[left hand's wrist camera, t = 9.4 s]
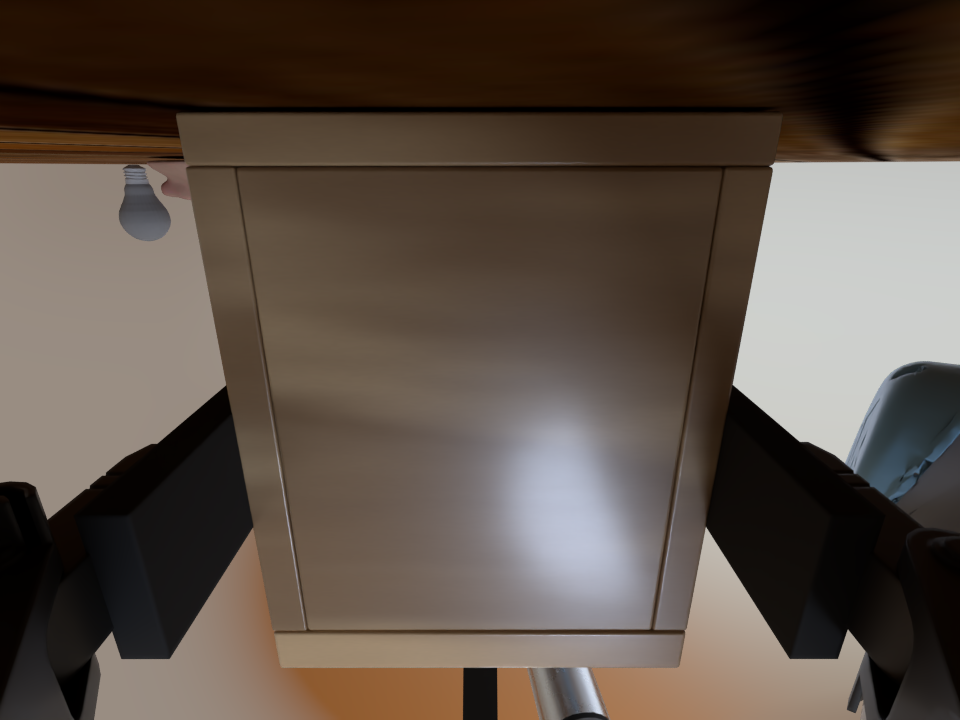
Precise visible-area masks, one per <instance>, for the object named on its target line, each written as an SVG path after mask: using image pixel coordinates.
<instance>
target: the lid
mask: <svg viewBox="0 0 960 720" xmlns="http://www.w3.org/2000/svg"><path fill="white" fill-rule="evenodd" d="M274 636H275V641H276V647H277V652H278V657H279V662H280V666H281V667H283V668H676V667H679V665H680V659H681V654H682V649H683V643H684V638H685V631H684V630H654V629H653V628H652V627H651V629H649V630H310V629H308V628H307V630H305V631H275V632H274Z"/></svg>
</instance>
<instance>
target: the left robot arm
mask: <svg viewBox="0 0 960 720" xmlns="http://www.w3.org/2000/svg"><path fill="white" fill-rule="evenodd" d="M706 527H707V529H708V530H709V532H710V534H711V535H712V537H713V538H714V540H715V542H716V543H717V545H718V546H719V548H720V549H721V551H722V553H723V554H724V556H725V557H726V559H727V561H728V562H729V564H730V565H731V567H732V568H733V570H734V572H735V573H736V575H737V576H738V578H739V579H740V581H741V583H742V584H743V586H744V587H745V589H746V590H747V592H748V594H749V595H750V597H751V598H752V600H753V602H754V603H755V605H756V606H757V608H758V609H759V611H760V612H761V614H762V616H763V617H764V619H765V620H766V622H767V624H768V625H769V627H770V628H771V630H772V632H773V633H774V635H775V636H776V638H777V639H778V641H779V643H780V644H781V646H782V647H783V649H784V650H785V652H786V653H787V655H788V657H789V658H790V659H838V657H839V654H840V651H841V648H842V645H843V642H844V639H845V636H846V633H847V630H849V631H850V632H851V634H852V635H853V636H854V637H855V639H856V640H857V641H858V642H859V644H860V645H861V646H862V647H863V649H864V650H865V651H866V652H865V655H864V658H863V661H862V663H861V666H860V669H859V672H858V674H857V677H856V680H855V683H854V686H853V688H852V691H851V694H850V697H849V701H848V706H847V710H849V711H851V712H854V713H856V711H857V708H858V705H859V702H860V701H862V700H864V701H863V707H862V713H861V719H860V720H960V365H956V364H947V363H939V362H930V361H920V362H914V363H909V364H906V365H903V366H901V367H899V368H897V369H896V370H894V371H893V372H891V373H890V374H889V376H888V377H887V378H886V379H885V380H884V381H883V383H882V384H881V386H880V388H879V389H878V391H877V393H876V395H875V397H874V399H873V401H872V403H871V405H870V407H869V409H868V411H867V413H866V415H865V418H864V420H863V422H862V424H861V427H860V429H859V431H858V433H857V436H856V438H855V441H854V443H853V445H852V448H851V450H850V453H849V455H848V457H847V460H846V462H845V463H844V462H842V461H841V460H840V459H839V458H837V457H836V456H835V455H833V454H831V453H829V452H827V451H825V450H823V449H821V448H819V447H817V446H815V445H813V444H811V443H809V442H799V441H798V440H797V439H796V438H794V437H793V436H792V435H791V434H790V433H789V432H787V431H786V430H785V429H784V428H783V427H782V426H780V425H779V424H778V423H777V422H776V421H774V420H773V419H772V418H771V417H770V416H769V415H767V414H766V413H765V412H764V411H763V410H762V409H760V408H759V407H758V406H757V405H756V404H754V403H753V402H752V401H751V400H750V399H748V398H747V397H746V396H745V395H744V394H743V393H742V392H740V391H739V390H738V389H737V388H736V387H734V386H733V385H732V390H731V395H730V400H729V406H728V411H727V416H726V421H725V427H724V432H723V437H722V443H721V448H720V453H719V459H718V464H717V469H716V474H715V480H714V485H713V490H712V496H711V501H710V506H709V512H708V517H707V522H706ZM252 528H253V521H252V516H251V511H250V505H249V500H248V495H247V490H246V484H245V479H244V474H243V468H242V463H241V458H240V453H239V447H238V442H237V437H236V431H235V426H234V421H233V416H232V412H231V407H230V401H229V396H228V391H227V386H225V387H224V388H223V389H221V390H220V391H219V392H218V393H217V394H215V395H214V396H213V397H212V398H211V399H210V400H208V401H207V402H206V403H205V404H204V405H203V406H201V407H200V408H199V409H198V410H197V411H196V412H194V413H193V414H192V415H191V416H190V417H188V418H187V419H186V420H185V421H184V422H183V423H181V424H180V425H179V426H178V427H177V428H176V429H174V430H173V431H172V432H171V433H170V434H168V435H167V436H166V437H165V438H164V439H163V440H161V441H160V442H159V443H158V444H150V445H148V446H146V447H144V448H142V449H141V450H139V451H137V452H134V453H133V454H131V455H128V456H126V457H125V458H124V459H122V460H121V461H120V462H119V463H117V464H116V465H115V466H114V467H112V468H111V469H110V470H109V471H107V472H106V476H101V477H100V478H99V479H98V480H96V481H95V482H94V483H93V484H91V485H90V489H85V490H84V491H83V492H82V493H80V494H79V495H78V496H77V497H75V498H74V499H73V500H72V501H70V502H69V503H68V504H67V505H66V506H64V507H63V508H62V509H61V510H59V511H58V512H57V513H56V514H54V515H53V516H52V517H51V518H49V519H48V520H47V518H46V515H45V512H44V509H43V506H42V504H41V501H40V498H39V495H38V492H37V490H36V487H34V486H33V485H31V484H29V483H27V482H3V483H0V720H94V716H95V709H96V702H97V696H98V689H99V682H100V675H101V674H100V668H99V663H98V660H97V658H96V655H95V652H96V651H97V649H98V648H99V647H100V646H101V644H102V643H103V642H104V641H105V639H106V638H107V637H108V636H109V634H110V633H111V632H113V635H114V638H115V641H116V644H117V647H118V650H119V653H120V656H121V659H170V657H171V656H172V654H173V653H174V651H175V649H176V648H177V646H178V645H179V643H180V642H181V640H182V638H183V637H184V635H185V634H186V632H187V631H188V629H189V627H190V626H191V624H192V623H193V621H194V620H195V618H196V616H197V615H198V613H199V612H200V610H201V608H202V607H203V605H204V604H205V602H206V600H207V599H208V597H209V596H210V594H211V593H212V591H213V590H214V588H215V586H216V585H217V583H218V582H219V580H220V579H221V577H222V575H223V574H224V572H225V571H226V569H227V567H228V566H229V564H230V563H231V561H232V560H233V558H234V556H235V555H236V553H237V552H238V550H239V548H240V547H241V545H242V544H243V542H244V541H245V539H246V537H247V536H248V534H249V533H250V531H251V529H252Z"/></svg>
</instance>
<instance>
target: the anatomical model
mask: <svg viewBox="0 0 960 720" xmlns="http://www.w3.org/2000/svg"><path fill="white" fill-rule="evenodd" d="M147 164H148V165H149V166H150V167H151V168H153V169H154V170H156V171H158V172H160V173H162V174H163V175H165V176H166V177H167V181H166V182H164V183H163V184H162V186H161V190H162V193H163V194H164V195H167V196H171V197H179V198H183V199H187V200H191V195H190V190H189V185H188V180H187V174H186V167H188V165H186V163H185V161H184V160H163V161H149V162H147Z"/></svg>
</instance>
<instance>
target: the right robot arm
mask: <svg viewBox="0 0 960 720" xmlns="http://www.w3.org/2000/svg"><path fill="white" fill-rule="evenodd" d="M527 670H528V674H529V678H530V682H531V686H532V691H533V694H534V699H535V703H536V707H537V711H538V715H539V720H610V717H609V715H608V712H607V709H606V706H605V704H604V701H603V698H602V696H601V693H600V690H599V688H598V685H597V682H596V679H595V677H594V674H593V671H592V669H591V668H527ZM463 720H497V668H464V671H463Z"/></svg>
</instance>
